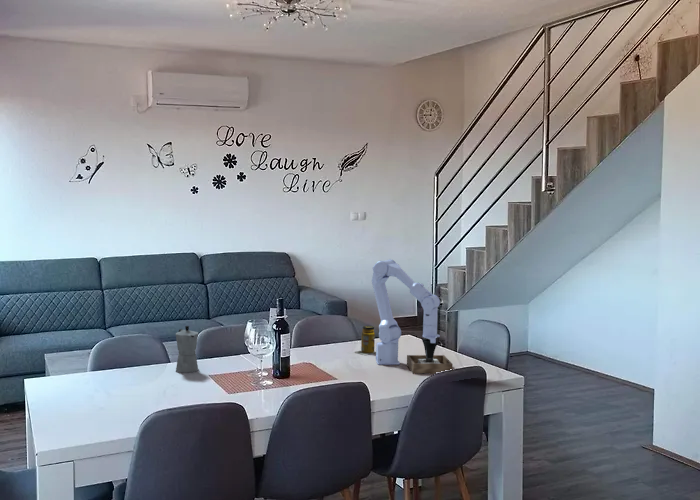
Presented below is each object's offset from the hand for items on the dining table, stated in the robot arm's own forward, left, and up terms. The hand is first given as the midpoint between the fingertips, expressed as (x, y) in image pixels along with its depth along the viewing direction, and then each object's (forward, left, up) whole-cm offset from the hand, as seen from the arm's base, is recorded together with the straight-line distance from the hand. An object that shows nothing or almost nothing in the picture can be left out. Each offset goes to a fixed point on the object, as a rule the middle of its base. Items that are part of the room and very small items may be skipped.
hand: (429, 357), depth 292 cm
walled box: (0, 0, -5) cm, 5 cm away
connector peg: (0, 0, -2) cm, 2 cm away
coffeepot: (-99, -1, -5) cm, 99 cm away
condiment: (-23, +31, -5) cm, 39 cm away
